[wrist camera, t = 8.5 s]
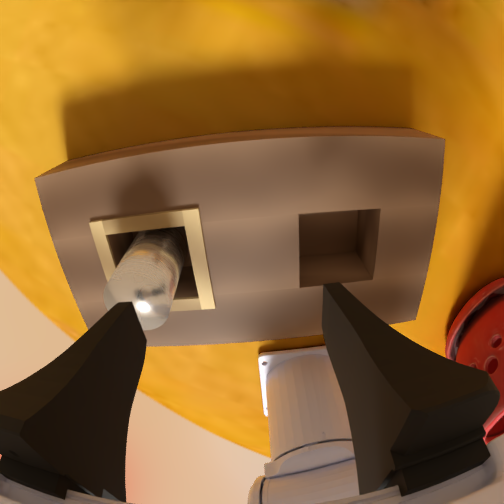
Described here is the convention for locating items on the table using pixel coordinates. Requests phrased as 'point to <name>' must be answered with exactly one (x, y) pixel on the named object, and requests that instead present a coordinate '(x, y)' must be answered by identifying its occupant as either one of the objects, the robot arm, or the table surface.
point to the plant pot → (482, 344)
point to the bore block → (256, 225)
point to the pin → (149, 274)
